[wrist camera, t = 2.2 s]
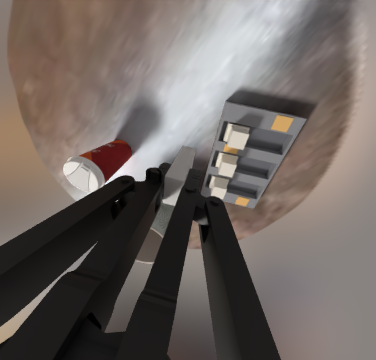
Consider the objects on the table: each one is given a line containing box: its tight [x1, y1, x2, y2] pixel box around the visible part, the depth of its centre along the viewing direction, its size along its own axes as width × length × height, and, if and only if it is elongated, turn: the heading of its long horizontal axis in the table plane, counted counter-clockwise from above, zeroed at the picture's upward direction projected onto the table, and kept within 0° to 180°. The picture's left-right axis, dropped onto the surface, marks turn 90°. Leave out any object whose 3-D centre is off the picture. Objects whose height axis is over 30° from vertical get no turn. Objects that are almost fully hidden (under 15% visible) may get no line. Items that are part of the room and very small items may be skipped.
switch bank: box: [201, 101, 307, 209], centre depth 33 cm, size 22×14×3 cm, turn 170°
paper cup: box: [63, 140, 132, 192], centre depth 33 cm, size 8×8×14 cm
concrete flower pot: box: [135, 199, 175, 264], centre depth 40 cm, size 17×17×15 cm
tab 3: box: [209, 175, 229, 199], centre depth 34 cm, size 3×4×6 cm
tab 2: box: [215, 151, 238, 177], centre depth 31 cm, size 3×4×6 cm
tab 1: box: [223, 122, 250, 150], centre depth 28 cm, size 3×4×6 cm
